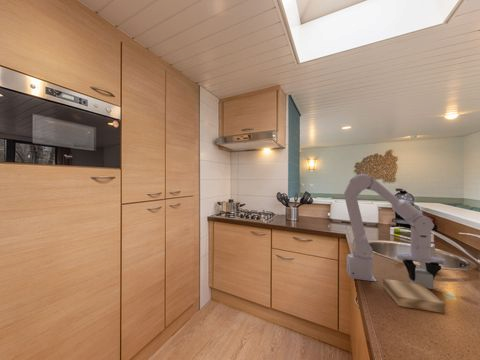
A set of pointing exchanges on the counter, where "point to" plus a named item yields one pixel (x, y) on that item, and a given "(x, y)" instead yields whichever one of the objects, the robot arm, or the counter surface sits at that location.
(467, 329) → the counter surface
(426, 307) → the oak base
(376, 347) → the counter surface
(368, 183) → the robot arm
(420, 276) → the grey cube
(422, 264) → the skincare box
